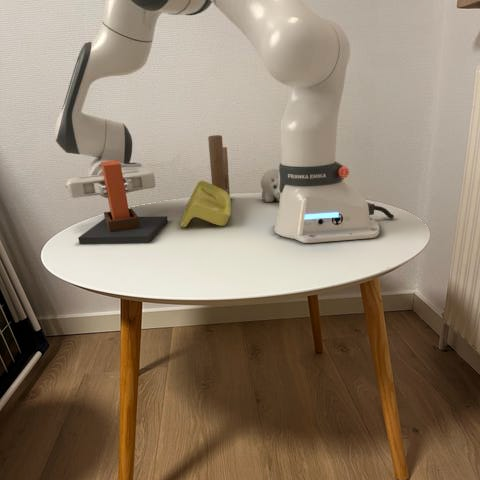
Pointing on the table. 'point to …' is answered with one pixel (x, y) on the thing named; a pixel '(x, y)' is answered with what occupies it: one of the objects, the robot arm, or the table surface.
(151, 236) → the base pad
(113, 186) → the orange rectangular block
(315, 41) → the robot arm
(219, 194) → the plastic component
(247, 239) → the table surface
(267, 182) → the round bodied animal figurine
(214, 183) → the wooden block
